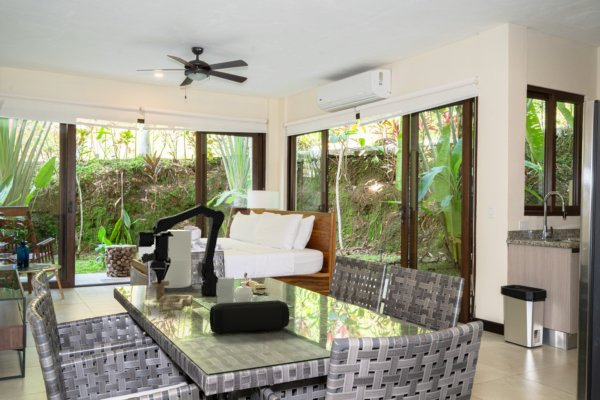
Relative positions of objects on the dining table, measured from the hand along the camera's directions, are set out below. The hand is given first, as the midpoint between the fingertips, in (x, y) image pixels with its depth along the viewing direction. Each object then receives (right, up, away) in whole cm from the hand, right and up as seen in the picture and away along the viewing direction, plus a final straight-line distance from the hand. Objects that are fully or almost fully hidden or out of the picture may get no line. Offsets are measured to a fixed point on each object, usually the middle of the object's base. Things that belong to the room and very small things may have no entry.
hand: (160, 282), depth 217 cm
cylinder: (-4, -8, +36) cm, 37 cm away
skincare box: (+31, -8, -14) cm, 35 cm away
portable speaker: (+45, -8, -52) cm, 69 cm away
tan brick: (0, -7, 0) cm, 7 cm away
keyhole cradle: (+9, -7, -13) cm, 18 cm away
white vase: (+39, -8, -24) cm, 47 cm away
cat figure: (+38, -9, +25) cm, 47 cm away
